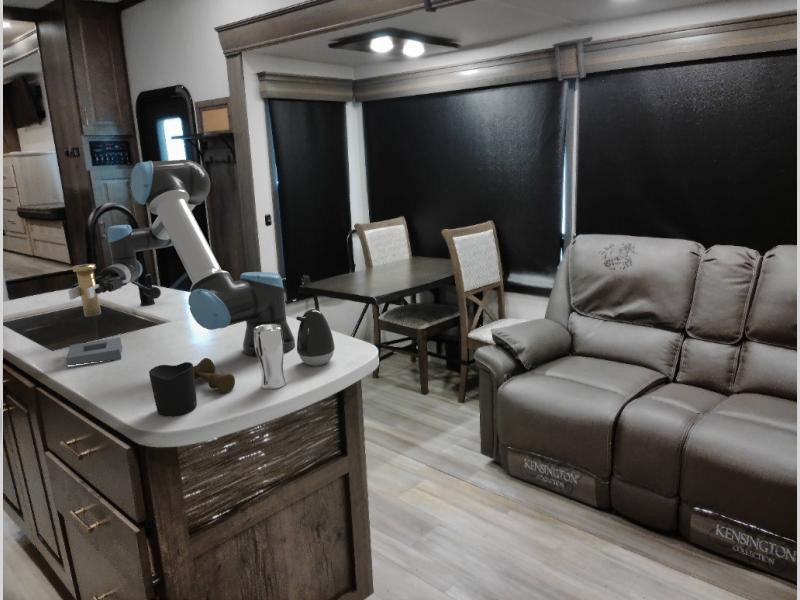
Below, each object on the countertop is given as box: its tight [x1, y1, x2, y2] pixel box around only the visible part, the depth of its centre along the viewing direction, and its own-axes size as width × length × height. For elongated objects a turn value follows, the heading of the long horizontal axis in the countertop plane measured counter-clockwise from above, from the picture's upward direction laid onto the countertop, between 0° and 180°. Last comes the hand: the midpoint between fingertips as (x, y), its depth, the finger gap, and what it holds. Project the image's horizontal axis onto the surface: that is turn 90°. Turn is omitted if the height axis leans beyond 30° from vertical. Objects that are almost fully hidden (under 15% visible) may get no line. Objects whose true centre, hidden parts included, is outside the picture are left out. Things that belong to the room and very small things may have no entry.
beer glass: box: [254, 324, 287, 390], centre depth 146 cm, size 7×7×15 cm
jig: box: [65, 336, 123, 366], centre depth 177 cm, size 14×14×3 cm
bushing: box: [72, 263, 102, 318], centre depth 174 cm, size 6×6×15 cm
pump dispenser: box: [296, 308, 336, 367], centre depth 160 cm, size 10×10×15 cm
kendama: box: [193, 357, 236, 395], centre depth 149 cm, size 6×10×20 cm
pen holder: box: [148, 361, 198, 417], centre depth 135 cm, size 9×9×10 cm
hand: (79, 294), depth 168 cm, fingers closed on bushing, 4 cm apart
